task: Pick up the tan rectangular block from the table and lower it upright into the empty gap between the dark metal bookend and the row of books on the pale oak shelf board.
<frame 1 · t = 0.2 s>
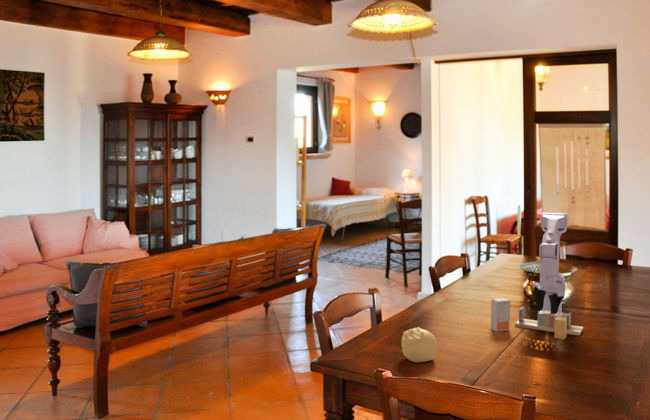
hand: (546, 310, 236), 10 cm above the table, tool pointing down, fingers open, 7 cm apart
bookends: (544, 317, 247), on the shelf board, point 4 cm above the table
books: (553, 319, 245), on the shelf board, point 4 cm above the table
tan rectangular block: (560, 336, 236), on the table
skincare box: (500, 330, 245), on the table
shelf board: (548, 328, 246), on the table
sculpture: (419, 360, 213), on the table
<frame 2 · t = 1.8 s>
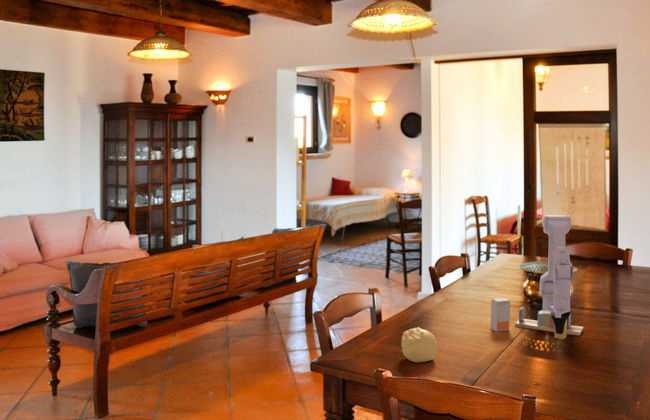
hand: (560, 331, 235), 2 cm above the table, tool pointing down, fingers closed on tan rectangular block, 4 cm apart
tan rectangular block: (560, 336, 236), on the table, touching gripper
everything else where it was.
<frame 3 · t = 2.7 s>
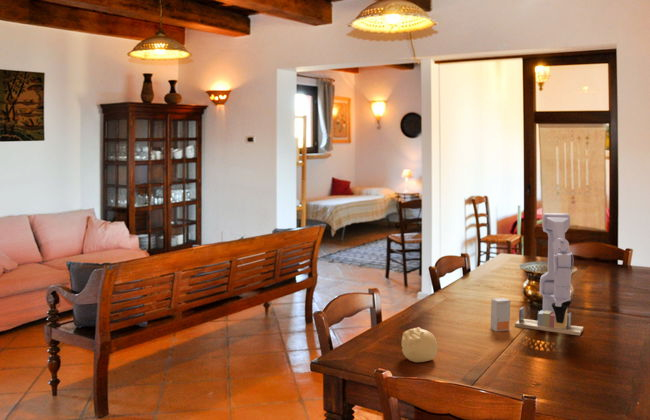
hand: (561, 320, 235), 6 cm above the table, tool pointing down, fingers closed on tan rectangular block, 4 cm apart
tan rectangular block: (560, 326, 235), point 4 cm above the table, touching gripper
everything else where it was.
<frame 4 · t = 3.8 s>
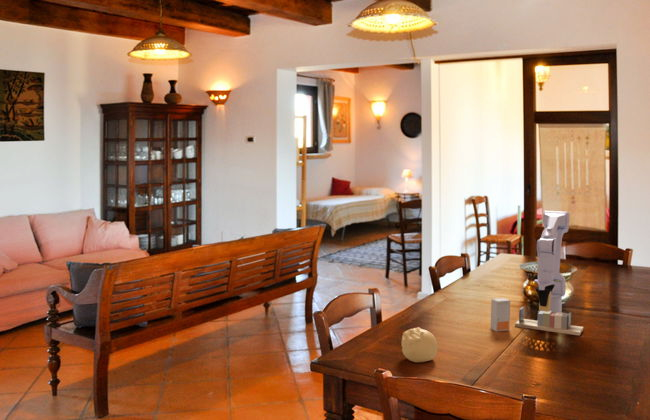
hand: (544, 304, 242), 10 cm above the table, tool pointing down, fingers closed on tan rectangular block, 4 cm apart
tan rectangular block: (544, 309, 243), point 8 cm above the table, touching gripper
everything else where it was.
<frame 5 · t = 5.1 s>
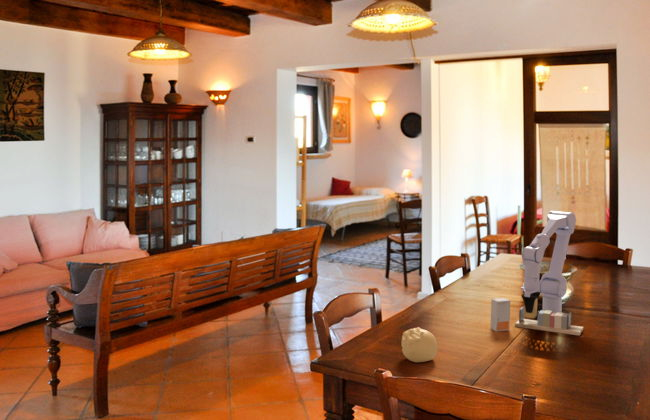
hand: (530, 311, 249), 6 cm above the table, tool pointing down, fingers closed on tan rectangular block, 4 cm apart
tan rectangular block: (530, 316, 249), point 4 cm above the table, touching gripper
everything else where it was.
when the fingers open (4 cm above the table, at t = 5.9 s): tan rectangular block drops 1 cm, resting on shelf board.
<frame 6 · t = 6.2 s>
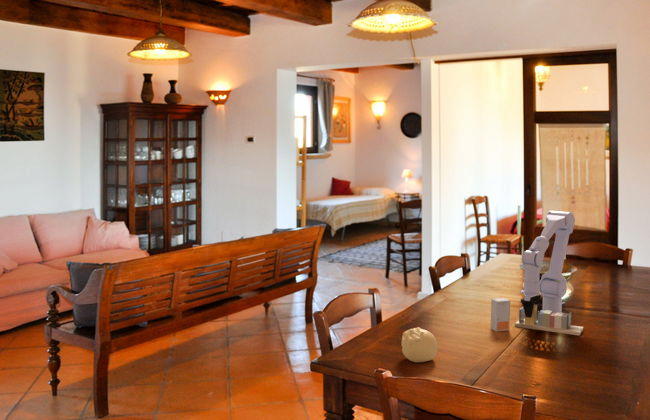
hand: (530, 314, 249), 4 cm above the table, tool pointing down, fingers open, 7 cm apart
tan rectangular block: (530, 322, 250), point 1 cm above the table, touching shelf board
everything else where it was.
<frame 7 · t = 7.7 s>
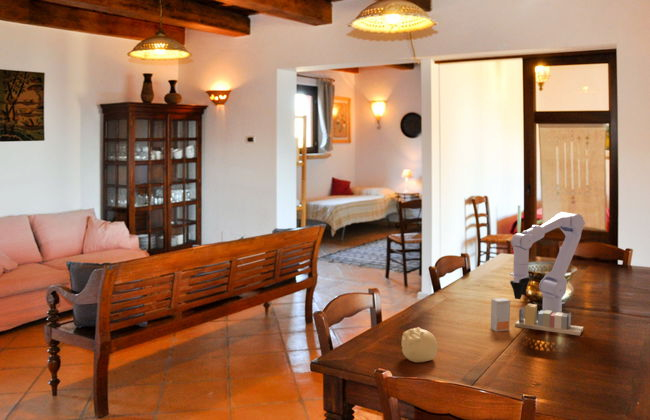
hand: (520, 296, 254), 10 cm above the table, tool pointing down, fingers open, 7 cm apart
nothing on the table moved.
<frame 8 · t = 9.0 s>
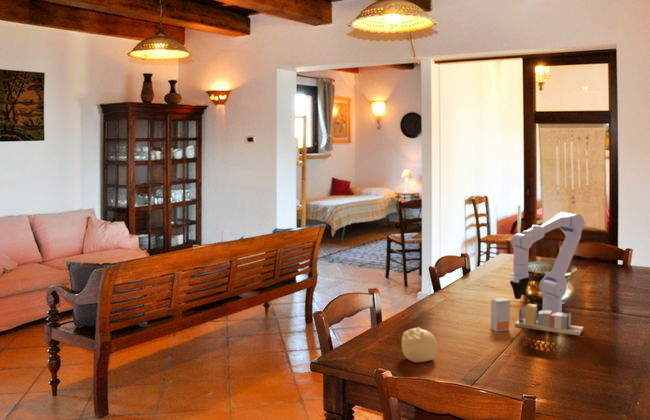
hand: (520, 296, 254), 10 cm above the table, tool pointing down, fingers open, 7 cm apart
nothing on the table moved.
at the end: tan rectangular block 0.1 cm from the target spot on the shelf board, point 1.2 cm above the shelf board's base; tan rectangular block tilted 0°; the gripper is holding nothing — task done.
